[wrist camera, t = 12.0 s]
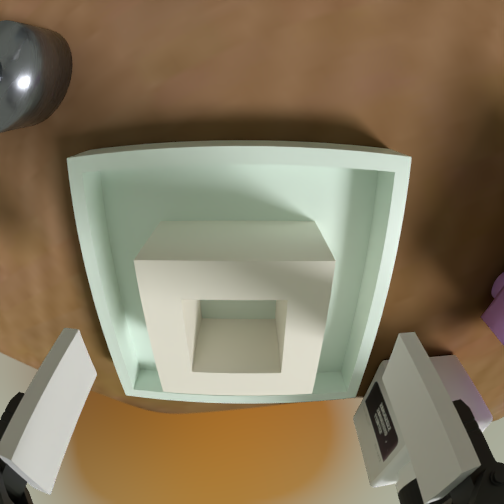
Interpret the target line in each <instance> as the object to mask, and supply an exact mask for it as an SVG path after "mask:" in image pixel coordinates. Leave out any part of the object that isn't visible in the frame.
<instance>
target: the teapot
mask: <svg viewBox="0 0 504 504" xmlns="http://www.w3.org/2000/svg"><path fill="white" fill-rule="evenodd" d="M491 293H492V296H493V298H495V299H494V300H493V301H492V303H491V304H490V305H489V307H488V308H487V309H486V311H485V312H484V313H483V314H482V316H481V318H482V319H483V321H484V322H485V323H486V324H487V325H488V327H489V328H490V329H491V330H492V331H493V333H494V334H495V335H496V336H497V338H498V339H499V340H500V341H501V343H502V344H503V345H504V272H503V273H502V274H500V275H499V276H498V278H497V279H496V280H495V282H494V284H493V287H492V292H491Z"/></svg>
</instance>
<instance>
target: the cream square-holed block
mask: <svg viewBox="0 0 504 504" xmlns="http://www.w3.org/2000/svg"><path fill="white" fill-rule="evenodd" d="M335 263H336V260H335V259H334V257H333V255H332V253H331V251H330V249H329V247H328V245H327V243H326V241H325V239H324V238H323V236H322V234H321V232H320V230H319V228H318V226H317V225H316V223H315V221H160V223H159V224H158V226H157V227H156V228H155V230H154V231H153V233H152V234H151V235H150V237H149V238H148V240H147V241H146V243H145V244H144V246H143V247H142V248H141V250H140V251H139V253H138V254H137V256H136V257H135V259H134V265H135V271H136V276H137V282H138V287H139V293H140V298H141V303H142V307H143V312H144V317H145V321H146V326H147V330H148V335H149V339H150V343H151V347H152V351H153V355H154V359H155V363H156V367H157V371H158V375H159V378H160V382H161V386H162V389H163V392H171V393H185V394H203V395H234V396H266V395H298V394H312V392H313V387H314V383H315V378H316V373H317V368H318V363H319V358H320V353H321V348H322V343H323V338H324V332H325V326H326V321H327V315H328V309H329V303H330V297H331V290H332V284H333V277H334V270H335ZM200 300H276V312H275V319H213V318H202V314H201V303H200Z"/></svg>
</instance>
